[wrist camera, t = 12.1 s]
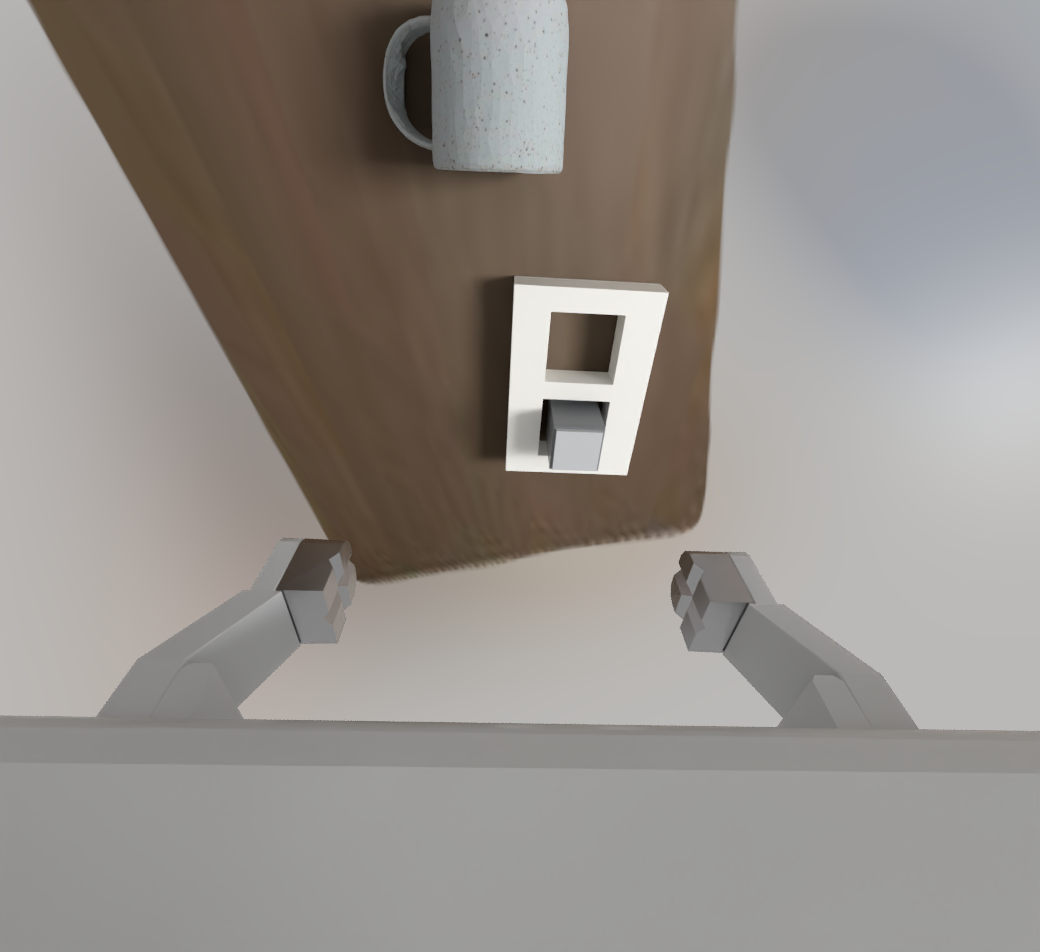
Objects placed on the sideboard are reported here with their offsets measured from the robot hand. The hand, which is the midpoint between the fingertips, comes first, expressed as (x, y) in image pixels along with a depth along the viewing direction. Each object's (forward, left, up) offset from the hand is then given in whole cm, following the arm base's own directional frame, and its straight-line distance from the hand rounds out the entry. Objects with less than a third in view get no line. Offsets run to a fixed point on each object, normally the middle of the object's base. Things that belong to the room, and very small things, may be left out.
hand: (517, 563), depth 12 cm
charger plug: (+11, +6, -29) cm, 32 cm away
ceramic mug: (-10, -3, -29) cm, 31 cm away
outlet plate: (+8, +6, -29) cm, 31 cm away
